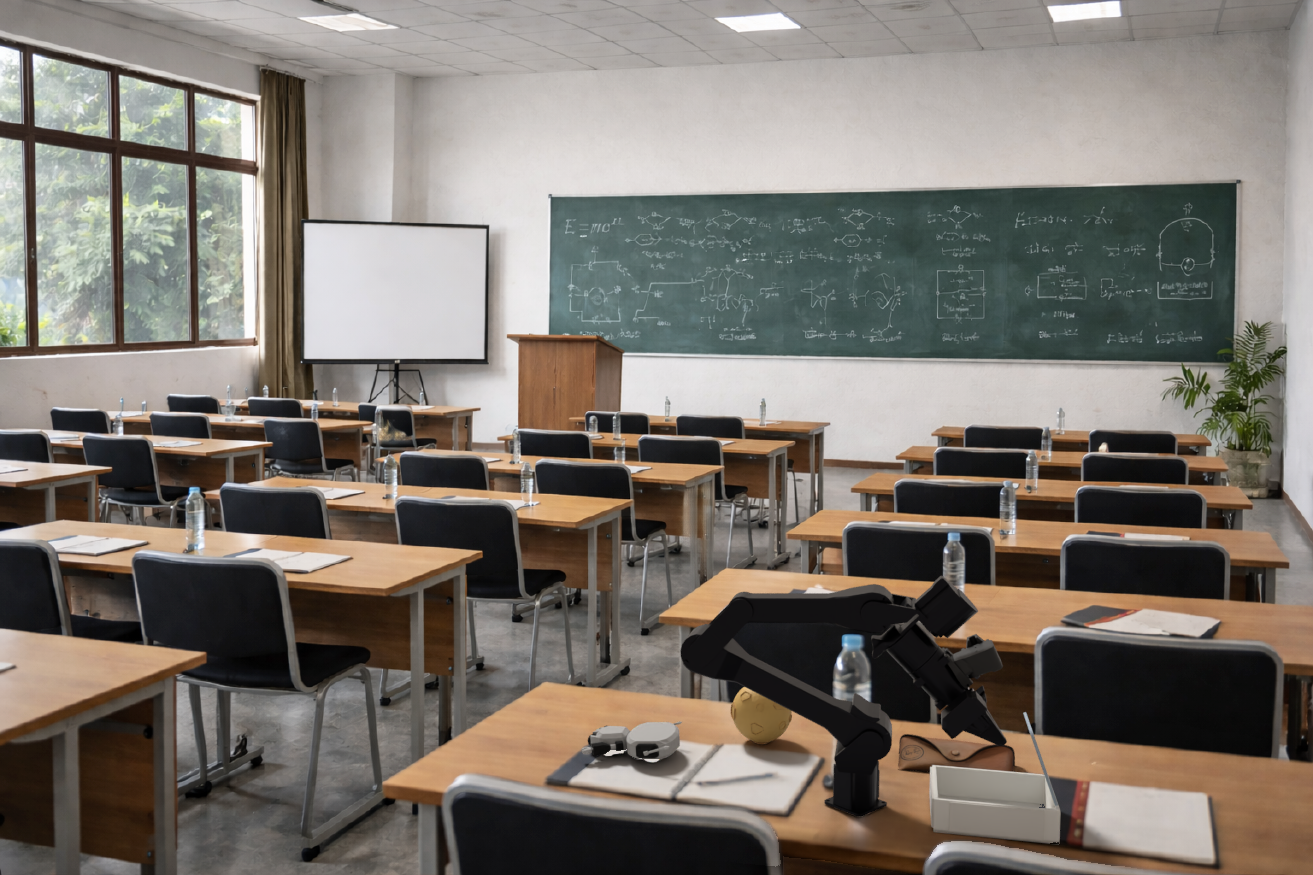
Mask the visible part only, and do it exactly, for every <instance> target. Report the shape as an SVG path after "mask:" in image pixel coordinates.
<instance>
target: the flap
mask: <svg viewBox="0 0 1313 875" xmlns="http://www.w3.org/2000/svg"><path fill="white" fill-rule="evenodd" d="M1022 714H1023V717H1024V719H1025V723H1026V725H1027V729H1028V732H1029V735H1030V737H1031V740H1032V744H1033V747H1034V749H1035V753H1036V754H1037V758H1038V760H1039V763H1040V767H1041V770H1042V772H1043V774H1044V775H1045V778H1046V781H1047V784H1048V787H1049V790H1050V792H1051V795H1052V798H1053V801H1054V804H1055V806H1057V805H1059V803H1057V802H1058V800H1056V799H1057V797H1055V796H1056V794H1054V793H1055V792H1054V788H1053V785H1052V782H1051V780H1049V779H1050V777H1048V776H1049V774H1048V771H1047V768H1046V766H1045V763H1044V760H1043V757H1042V754H1041V752H1040V749H1039V746H1038V743H1037V740H1036V739H1037V738H1036V737H1035V735H1034V731H1033V728H1032V726H1031V723H1030V720H1029V717H1028V714H1027V712H1026V711H1025V712H1023V713H1022ZM1050 782H1051V783H1050ZM1051 785H1052V786H1051Z"/></svg>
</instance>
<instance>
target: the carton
mask: <svg viewBox="0 0 1313 875" xmlns="http://www.w3.org/2000/svg"><path fill="white" fill-rule="evenodd" d="M1048 777H1049V775H1048ZM1049 780H1050V777H1049ZM1050 783H1051V786H1052V787H1053V785H1052V782H1051V780H1050ZM928 791H929V794H928V795H929V809H930V810H929V811H930V827H931V828H933V829H932V830H933V833H942V834H950V835H960V836H969V837H970V836H971V837H982V838H991V839H1000V840H1001V839H1002V840H1012V841H1021V842H1022V841H1023V842H1031V843H1040V844H1041V843H1042V844H1050V843H1053V842H1056V843H1057V842H1059V843H1060V839H1061V838H1060V837H1061V831H1060V830H1061V808H1060V806H1059V803H1058V800H1057V797H1056V794H1055V792H1054V794H1055V797H1056V800H1057V803H1058V805H1057V806H1055V804H1054V801H1053V798H1052V795H1051V792H1050V790H1049V787H1048V784H1047V781H1046V778H1045V775H1044V773H1043V774H1041V773H1033V772H1019V771H1018V772H1017V771H1013V772H1010V771H998V770H986V769H975V768H963V767H951V766H939V765H932V767H930V773H929V790H928ZM1040 804H1041V805H1040ZM1042 804H1044V806H1045V808H1039V807H1042ZM1044 806H1043V807H1044Z"/></svg>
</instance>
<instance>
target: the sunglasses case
mask: <svg viewBox="0 0 1313 875" xmlns="http://www.w3.org/2000/svg"><path fill="white" fill-rule="evenodd" d="M898 742H899V744H898V745H899V748H898V763H897V764H898V765H897V767H898V768H897V770H898V771H904V772H918V773H919V772H920V773H929V774H930V767H932V765H939V766H951V767H963V768H975V769H986V770H998V771H1010V772H1014V767H1015V766H1016V757H1015V756H1016V755H1015V749H1014V748H1013V747H1012V746H1011V745H1007V744H1005V745H1004V746H1002V747H1001V746H998V745H996V744H994V743H991V744H987V743H979V742H972V741H965V740H963V741H962V740H956V739H955V740H954V739H944V738H936V737H925V736H921V735H918V734H911V733H910V734H909V733H906V734H902V735H901V736H900V738H899V741H898Z"/></svg>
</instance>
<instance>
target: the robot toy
mask: <svg viewBox="0 0 1313 875" xmlns="http://www.w3.org/2000/svg"><path fill="white" fill-rule="evenodd" d="M682 723H683V721H681V720H680V721H677V722H674V723H672V722H669V721H662V722H661V721H647V722H643V723H640V724H638V725H637V726H635V727H634V728H632V729H631V730H630V729H628V727H626V726H619V725H605V726H602V727H599V728H597V729H595V730H594V731H592V734H590V735H588V737H587V743H588V745H589V746H584V747H582V748H581V753H582V754H583V755H590V754H593V755H594V756H593V755H592V756H593V757H596V756H597V755H598V756H604V755H603V754H606V753H607V752H609V751H610V750H616V751H621V750H626V749H627V751H626V752H627V754H628V755H629V756H630V757H631V756H632V757H631V758H633V757H635V758H642V759H641V760H643V759H661V760H663V759H666V758H669V757H670V756H672V755H673V754H674V753H675V752H676V751H677V750H678V748H679V747H680V746H681V739H680V737H681V736H680V728H679V727H678V725H681V724H682ZM635 758H634V759H635Z"/></svg>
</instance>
